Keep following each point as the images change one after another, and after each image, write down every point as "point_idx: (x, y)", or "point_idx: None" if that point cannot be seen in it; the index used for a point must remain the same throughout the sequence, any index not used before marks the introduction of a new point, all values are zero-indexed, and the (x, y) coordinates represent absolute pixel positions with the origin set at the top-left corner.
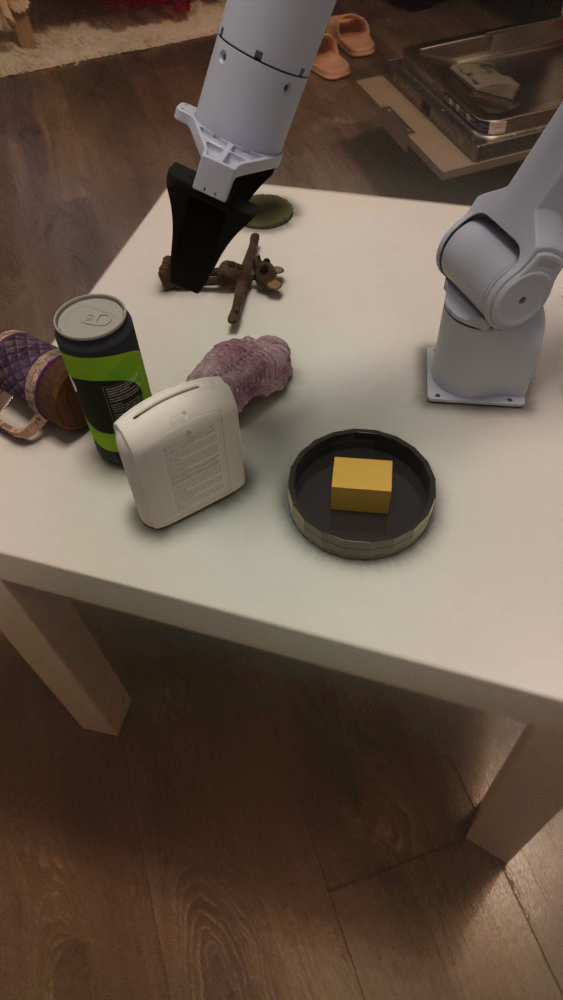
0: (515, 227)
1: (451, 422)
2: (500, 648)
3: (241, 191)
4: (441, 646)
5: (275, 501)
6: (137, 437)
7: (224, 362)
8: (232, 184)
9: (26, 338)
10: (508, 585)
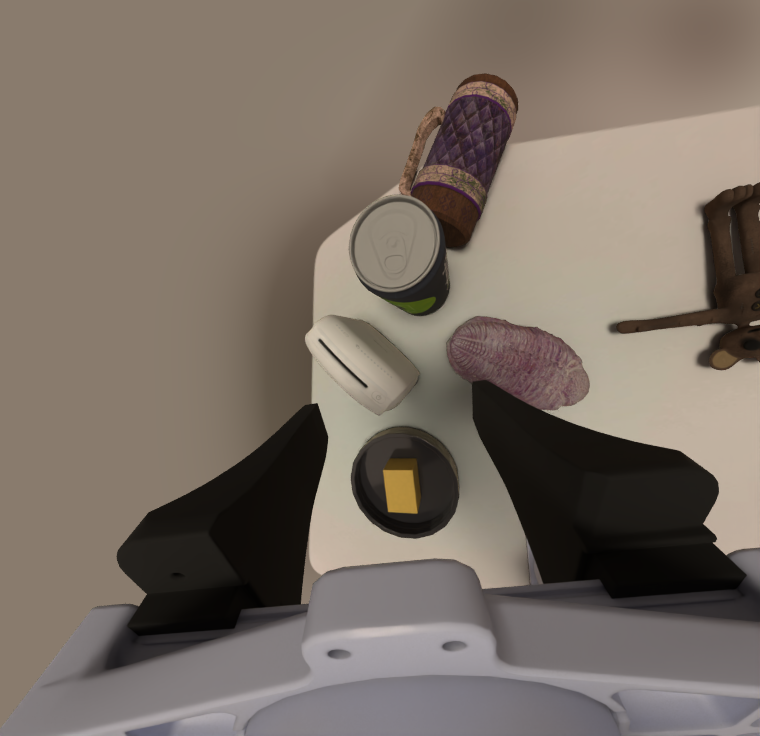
0: None
1: (502, 546)
2: (324, 551)
3: (526, 513)
4: (318, 521)
5: (392, 417)
6: (308, 347)
7: (501, 358)
8: (530, 503)
9: (485, 122)
10: (362, 562)
